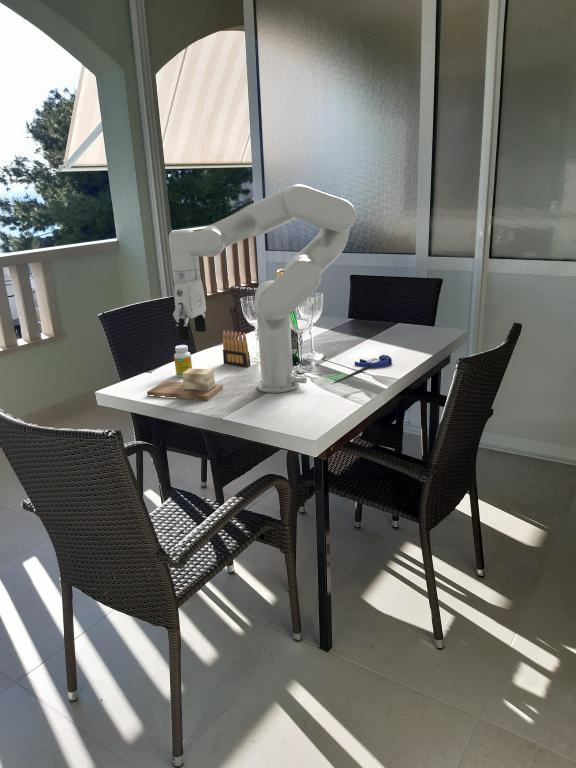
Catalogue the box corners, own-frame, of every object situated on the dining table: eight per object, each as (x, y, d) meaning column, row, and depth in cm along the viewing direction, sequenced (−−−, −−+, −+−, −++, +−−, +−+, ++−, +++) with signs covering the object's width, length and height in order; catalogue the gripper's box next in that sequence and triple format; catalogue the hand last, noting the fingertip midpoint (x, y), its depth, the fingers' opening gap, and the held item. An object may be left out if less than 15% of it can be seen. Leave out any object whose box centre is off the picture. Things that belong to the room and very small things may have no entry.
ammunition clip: (223, 363, 209) (220, 329, 205) (227, 362, 210) (223, 328, 206) (247, 367, 202) (244, 332, 199) (250, 366, 204) (247, 331, 200)
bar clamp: (370, 352, 204) (396, 356, 197) (371, 358, 204) (396, 363, 198) (307, 381, 182) (334, 387, 175) (308, 389, 183) (334, 395, 176)
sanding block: (215, 387, 180) (213, 369, 179) (208, 392, 176) (206, 374, 175) (191, 385, 183) (189, 368, 181) (184, 390, 179) (182, 373, 177)
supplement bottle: (177, 378, 196) (173, 349, 193) (175, 373, 201) (172, 345, 198) (193, 376, 197) (190, 347, 194) (191, 371, 202) (188, 343, 199)
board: (222, 389, 183) (222, 384, 182) (207, 400, 174) (207, 395, 174) (164, 385, 190) (164, 381, 189) (147, 396, 181) (147, 391, 180)
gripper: (183, 281, 160) (190, 343, 166) (212, 271, 175) (217, 328, 181) (158, 281, 163) (166, 342, 168) (189, 271, 178) (195, 328, 183)
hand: (193, 335), depth 174 cm, fingers open, 9 cm apart
